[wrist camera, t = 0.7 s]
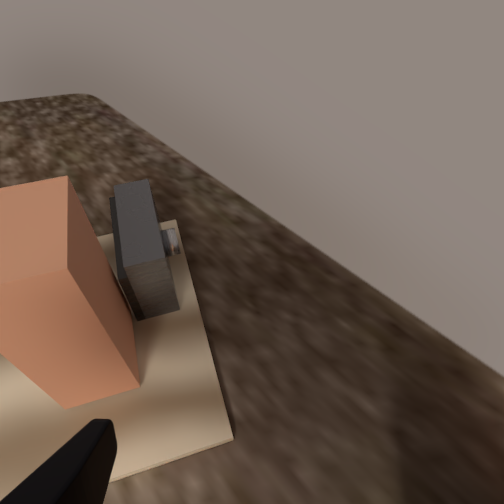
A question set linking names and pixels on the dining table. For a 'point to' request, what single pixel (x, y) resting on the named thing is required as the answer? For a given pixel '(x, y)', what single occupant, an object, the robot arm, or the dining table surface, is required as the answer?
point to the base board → (126, 396)
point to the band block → (143, 251)
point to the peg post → (61, 298)
